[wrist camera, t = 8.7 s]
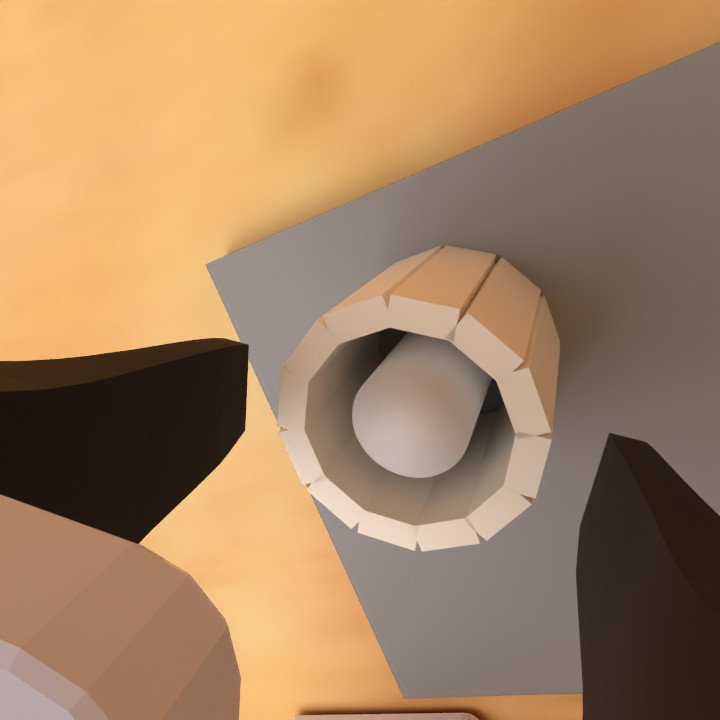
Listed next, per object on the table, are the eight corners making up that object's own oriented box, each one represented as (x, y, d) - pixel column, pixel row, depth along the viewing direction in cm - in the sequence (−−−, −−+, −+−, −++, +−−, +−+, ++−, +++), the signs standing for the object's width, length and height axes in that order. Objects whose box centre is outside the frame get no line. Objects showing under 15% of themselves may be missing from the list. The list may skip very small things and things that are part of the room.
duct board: (1233, 637, 13) (1614, 933, 8) (411, 675, 22) (362, 833, 17) (1167, -150, 10) (1742, -421, 5) (223, 257, 18) (94, 304, 13)
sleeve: (581, 269, 14) (581, 333, 10) (531, 458, 16) (513, 582, 12) (371, 231, 15) (286, 273, 11) (350, 409, 17) (272, 505, 13)
